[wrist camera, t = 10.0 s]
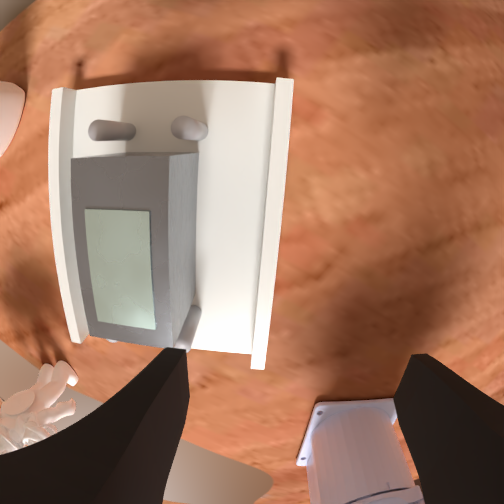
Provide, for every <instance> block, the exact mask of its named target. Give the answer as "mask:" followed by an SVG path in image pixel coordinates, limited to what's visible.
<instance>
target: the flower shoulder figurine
mask: <svg viewBox="0 0 504 504" xmlns="http://www.w3.org/2000/svg"><path fill="white" fill-rule="evenodd" d="M77 381H78V377H77V375H76V373H75V372H74V370H73V369H72V368H71V367H70V365H69V364H67V363H66V362H65V361H58V362H57V363H56V365H55V367H53V366H52V365H50V364H43V366H42V367H41V369H40V371H39V374H38V379H37V383H36V384H35V385H33V386H32V387H31V388H30V389H29V390H23V391H20V392H17V393H16V394H14V395H12V396H11V397H10V398H9V399H8V400H7V401H4V402H3V403H2V406H1V409H0V455H1V454H5V453H9V452H12V451H15V450H18V449H21V448H24V447H26V445H28V446H29V445H32V444H34V443H37V442H39V441H41V440H44V439H46V438H48V437H50V434H49V433H48V432H47V431H46V430H45V428H46V427H48V428H50V429H52V430H53V432H54V433H55V434H56V433H57V429H56V427H55V426H54V425H52V424H49V423H52V422H55V421H57V420H59V419H60V418H62V417H65V416H68V415H73V414H74V413H75V411H76V408H75V407H76V403H75V401H74V400H73V399H72V398H71V399H70V400H69V401H67V402H59V403H57V404H56V406H55V407H50V406H51V405H52V404H53V403H54V402H55V401H56V400H57V399H58V397H59V396H60V395H61V394H62V393H63V391H64V389H65V387H66V384H67V383H68V384H70V385H72V386H74V385H75V384H76V383H77ZM49 407H50V408H49ZM25 444H26V445H25ZM24 445H25V446H24ZM23 446H24V447H23Z"/></svg>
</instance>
